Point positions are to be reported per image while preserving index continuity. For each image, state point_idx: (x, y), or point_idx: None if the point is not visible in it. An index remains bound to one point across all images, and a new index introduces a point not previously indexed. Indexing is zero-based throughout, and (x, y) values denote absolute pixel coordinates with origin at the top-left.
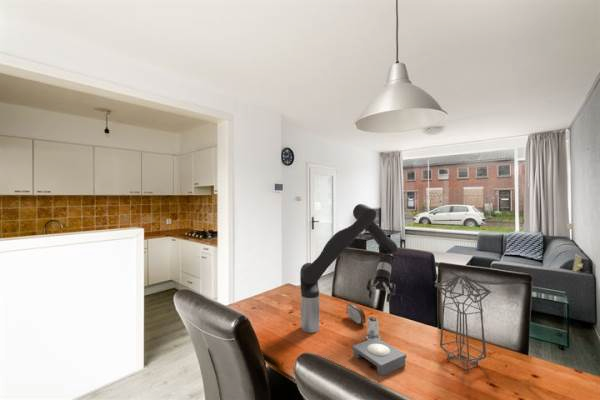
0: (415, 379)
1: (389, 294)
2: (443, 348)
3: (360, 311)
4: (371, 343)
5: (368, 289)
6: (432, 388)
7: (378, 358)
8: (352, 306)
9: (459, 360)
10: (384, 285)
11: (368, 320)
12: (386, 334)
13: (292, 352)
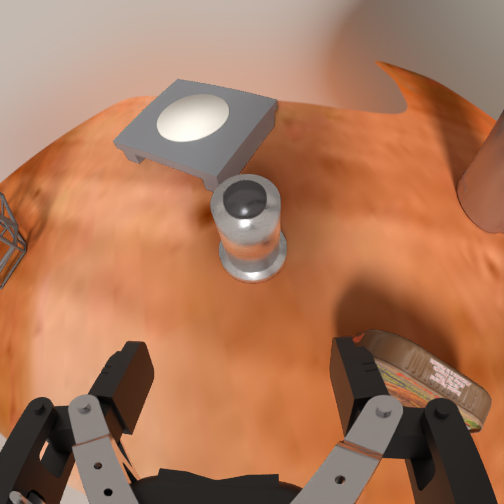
0: (112, 130)
1: (92, 398)
2: (14, 219)
3: (387, 343)
4: (223, 134)
5: (418, 413)
6: (87, 128)
7: (187, 91)
8: (458, 372)
9: (5, 223)
10: (119, 498)
11: (265, 180)
12: (206, 327)
13: (409, 91)
